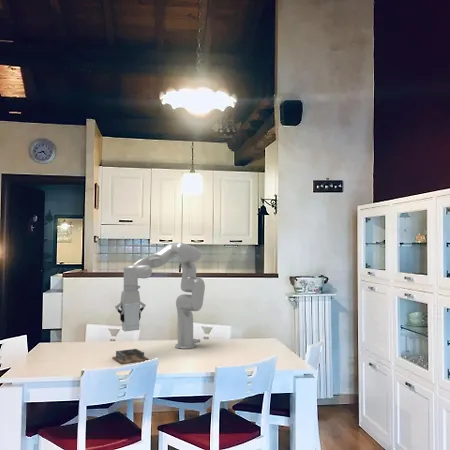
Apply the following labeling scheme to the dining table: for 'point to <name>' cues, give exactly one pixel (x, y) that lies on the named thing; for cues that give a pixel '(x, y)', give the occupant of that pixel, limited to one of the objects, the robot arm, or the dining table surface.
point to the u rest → (129, 356)
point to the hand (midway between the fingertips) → (130, 320)
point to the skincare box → (131, 317)
